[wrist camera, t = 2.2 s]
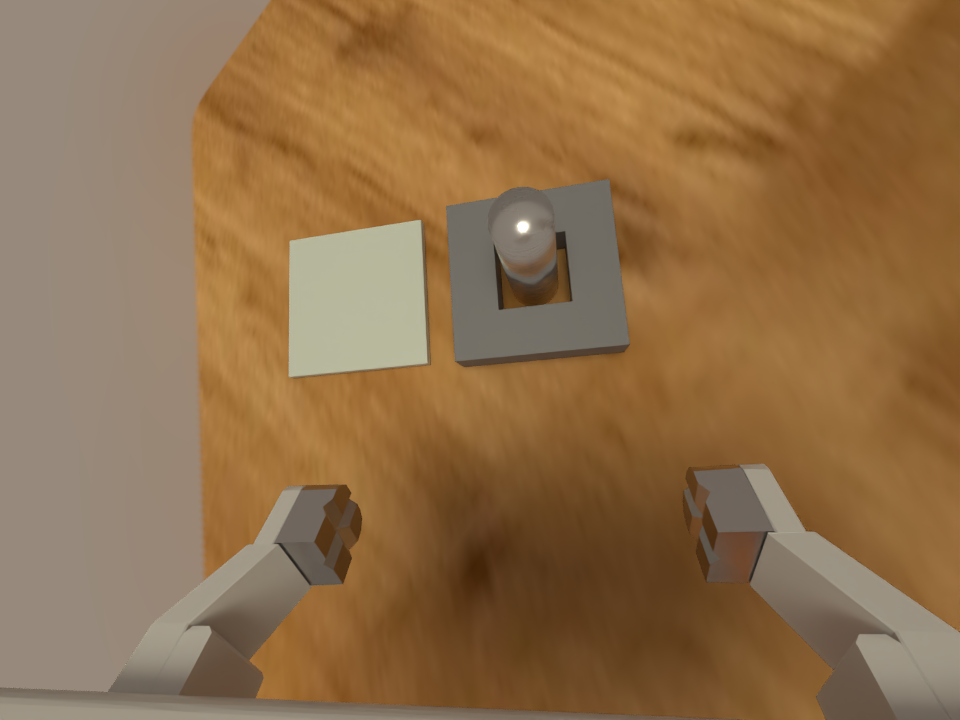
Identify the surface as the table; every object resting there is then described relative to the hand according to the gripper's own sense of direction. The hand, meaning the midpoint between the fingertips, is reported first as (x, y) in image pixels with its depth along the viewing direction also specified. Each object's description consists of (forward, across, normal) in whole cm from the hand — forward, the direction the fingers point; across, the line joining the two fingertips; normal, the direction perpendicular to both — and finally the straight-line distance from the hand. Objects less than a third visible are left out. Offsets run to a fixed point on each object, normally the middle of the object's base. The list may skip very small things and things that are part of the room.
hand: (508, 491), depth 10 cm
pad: (+25, +14, +6) cm, 29 cm away
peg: (+24, 0, +6) cm, 25 cm away
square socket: (+24, 0, +6) cm, 25 cm away
